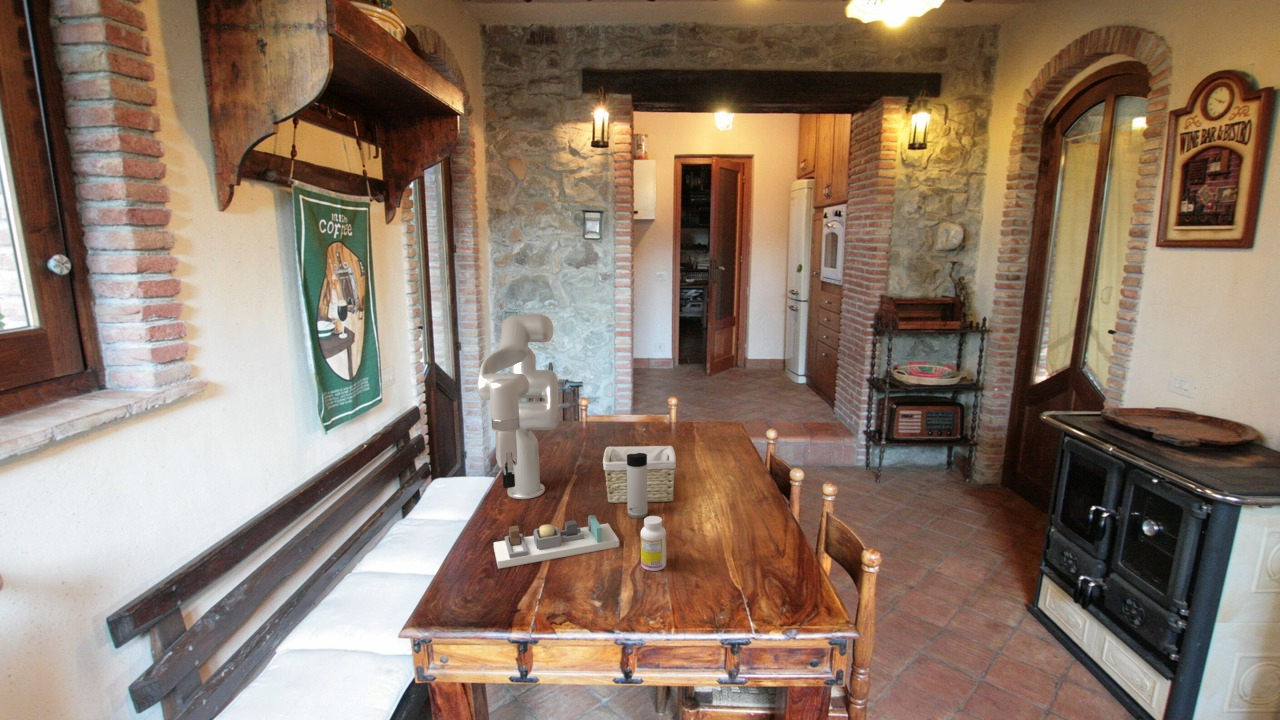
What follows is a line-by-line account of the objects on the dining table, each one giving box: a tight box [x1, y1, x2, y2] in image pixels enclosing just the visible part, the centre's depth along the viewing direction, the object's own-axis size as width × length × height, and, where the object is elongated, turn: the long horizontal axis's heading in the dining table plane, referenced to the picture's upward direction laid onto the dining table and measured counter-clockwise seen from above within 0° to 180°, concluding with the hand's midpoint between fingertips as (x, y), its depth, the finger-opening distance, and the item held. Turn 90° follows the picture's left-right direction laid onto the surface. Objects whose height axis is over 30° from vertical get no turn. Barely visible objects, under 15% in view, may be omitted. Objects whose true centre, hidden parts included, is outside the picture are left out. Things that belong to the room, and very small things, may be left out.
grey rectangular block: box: [564, 519, 578, 537], centre depth 167 cm, size 2×3×4 cm
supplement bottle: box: [640, 515, 667, 572], centre depth 154 cm, size 7×7×13 cm
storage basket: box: [602, 445, 677, 504], centre depth 199 cm, size 24×16×15 cm
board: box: [493, 522, 620, 570], centre depth 164 cm, size 11×33×6 cm, turn 109°
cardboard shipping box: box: [508, 525, 520, 545], centre depth 164 cm, size 3×2×4 cm
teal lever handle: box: [587, 514, 602, 542], centre depth 167 cm, size 9×2×4 cm, turn 19°
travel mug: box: [626, 453, 649, 519], centre depth 183 cm, size 6×7×20 cm
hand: (509, 486), depth 167 cm, fingers closed
